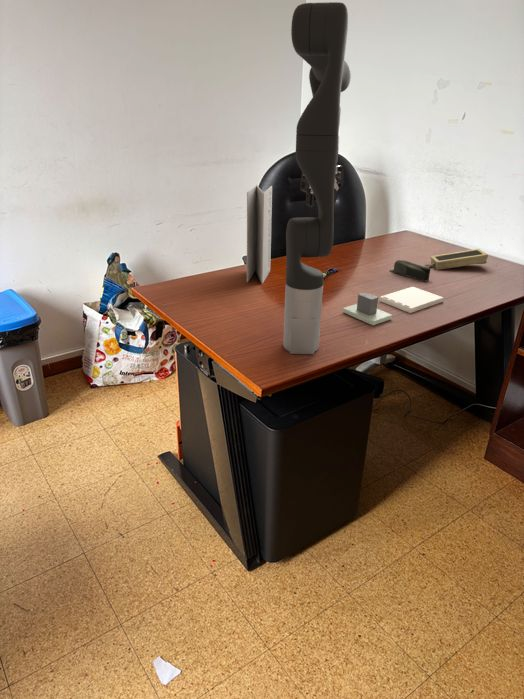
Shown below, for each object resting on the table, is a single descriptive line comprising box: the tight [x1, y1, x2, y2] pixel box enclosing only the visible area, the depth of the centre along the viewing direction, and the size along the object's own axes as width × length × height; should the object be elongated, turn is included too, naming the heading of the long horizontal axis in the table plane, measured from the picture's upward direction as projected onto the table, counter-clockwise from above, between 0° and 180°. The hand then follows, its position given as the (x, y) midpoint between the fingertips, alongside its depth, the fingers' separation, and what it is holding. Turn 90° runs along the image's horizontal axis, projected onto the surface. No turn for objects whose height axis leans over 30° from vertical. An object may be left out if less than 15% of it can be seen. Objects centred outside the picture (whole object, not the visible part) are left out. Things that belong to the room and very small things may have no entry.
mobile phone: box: [389, 259, 431, 282], centre depth 188 cm, size 5×3×15 cm
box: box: [423, 248, 489, 271], centre depth 198 cm, size 8×22×5 cm, turn 93°
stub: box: [342, 292, 393, 326], centre depth 154 cm, size 8×12×6 cm, turn 37°
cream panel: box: [379, 286, 444, 314], centre depth 166 cm, size 16×12×2 cm
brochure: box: [246, 184, 273, 284], centre depth 179 cm, size 14×6×30 cm, turn 168°
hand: (321, 204), depth 151 cm, fingers open, 8 cm apart
